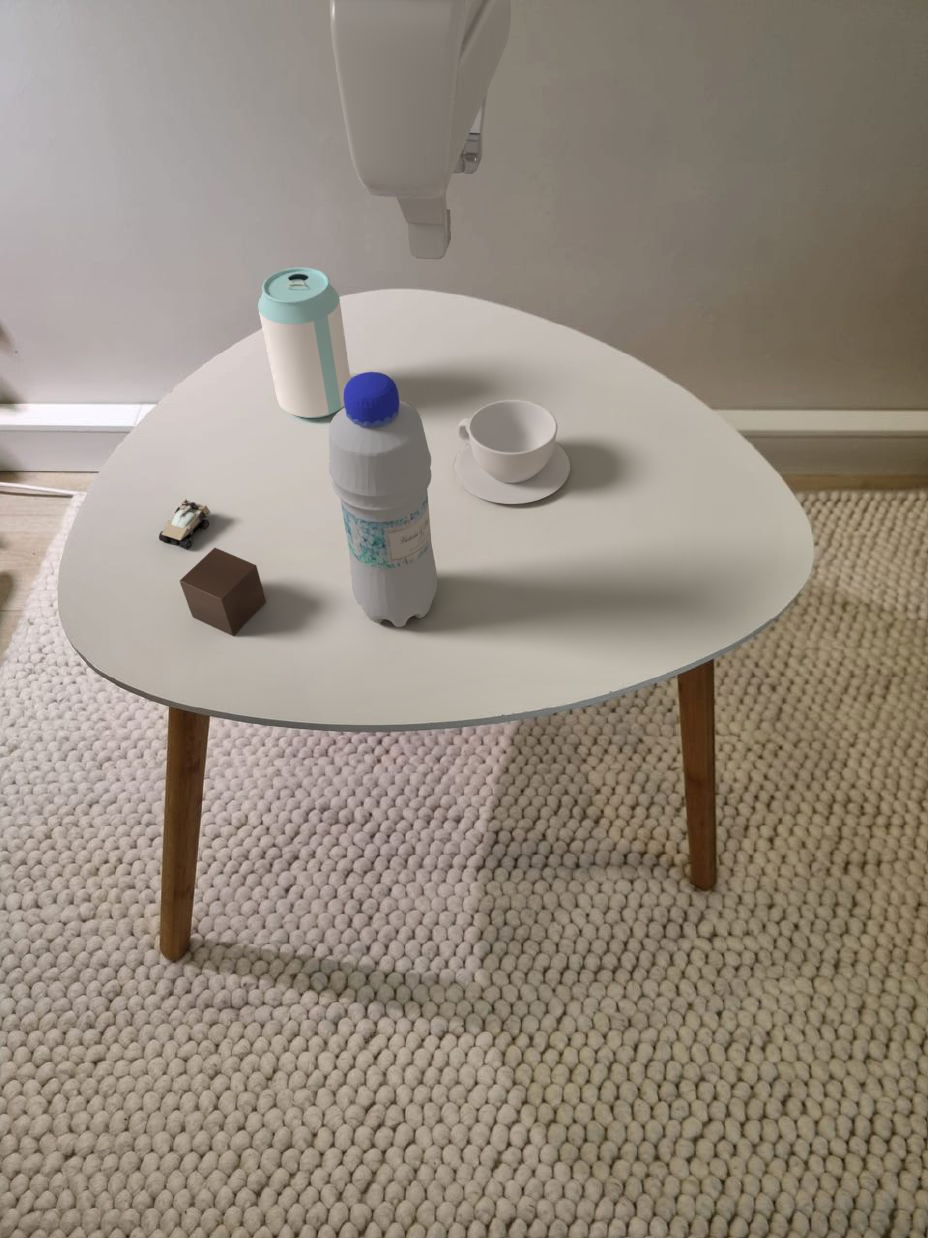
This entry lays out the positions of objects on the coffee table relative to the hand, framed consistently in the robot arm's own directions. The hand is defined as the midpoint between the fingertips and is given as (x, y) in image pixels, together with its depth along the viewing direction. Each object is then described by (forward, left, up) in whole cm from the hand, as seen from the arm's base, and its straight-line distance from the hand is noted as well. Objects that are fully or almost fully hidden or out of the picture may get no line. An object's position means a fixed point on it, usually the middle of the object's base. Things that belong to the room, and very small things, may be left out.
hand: (448, 207), depth 49 cm
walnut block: (-13, +12, -31) cm, 36 cm away
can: (+7, +30, -31) cm, 44 cm away
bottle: (-3, +4, -31) cm, 31 cm away
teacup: (+14, +10, -31) cm, 35 cm away
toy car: (-11, +22, -31) cm, 40 cm away
